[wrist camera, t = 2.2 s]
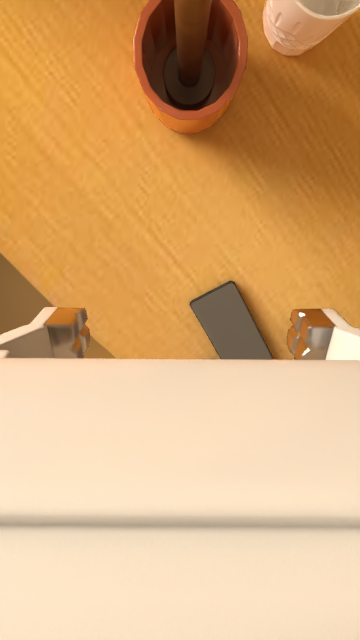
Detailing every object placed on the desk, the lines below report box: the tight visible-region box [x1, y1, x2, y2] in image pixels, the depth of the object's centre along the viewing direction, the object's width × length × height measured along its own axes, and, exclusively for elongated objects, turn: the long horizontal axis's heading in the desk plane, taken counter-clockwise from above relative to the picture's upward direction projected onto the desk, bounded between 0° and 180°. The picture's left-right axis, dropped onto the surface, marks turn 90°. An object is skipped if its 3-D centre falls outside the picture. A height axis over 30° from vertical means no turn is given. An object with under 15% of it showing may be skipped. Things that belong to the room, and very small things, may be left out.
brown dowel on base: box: [163, 0, 216, 111], centre depth 24 cm, size 5×5×21 cm
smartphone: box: [190, 281, 274, 360], centre depth 46 cm, size 7×1×15 cm
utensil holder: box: [133, 0, 248, 134], centre depth 30 cm, size 9×9×9 cm
